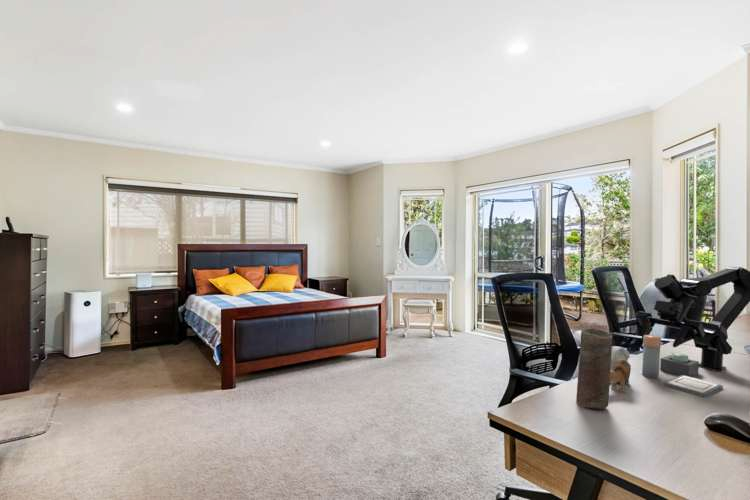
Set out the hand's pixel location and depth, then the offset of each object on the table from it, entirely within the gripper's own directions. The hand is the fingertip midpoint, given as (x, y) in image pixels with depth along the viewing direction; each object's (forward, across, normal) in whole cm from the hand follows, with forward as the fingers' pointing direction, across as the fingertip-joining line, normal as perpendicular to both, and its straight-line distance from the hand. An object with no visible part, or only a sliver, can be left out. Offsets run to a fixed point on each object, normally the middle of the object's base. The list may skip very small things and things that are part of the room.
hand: (657, 342), depth 126 cm
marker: (+10, 0, +5) cm, 11 cm away
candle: (+39, +7, -24) cm, 46 cm away
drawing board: (+9, +11, +6) cm, 15 cm away
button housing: (0, +2, +15) cm, 15 cm away
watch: (+22, -1, -6) cm, 23 cm away
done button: (-2, +2, +13) cm, 13 cm away
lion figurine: (+28, +2, -13) cm, 31 cm away
